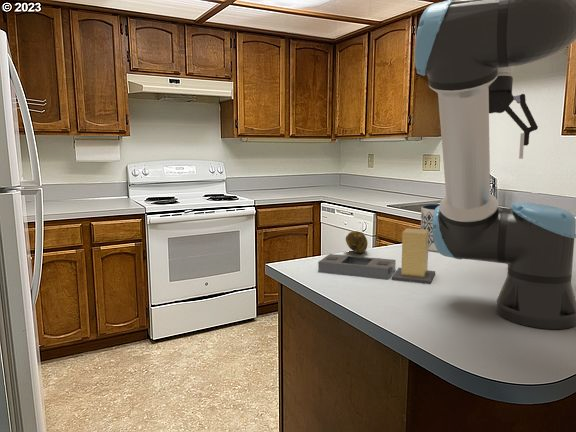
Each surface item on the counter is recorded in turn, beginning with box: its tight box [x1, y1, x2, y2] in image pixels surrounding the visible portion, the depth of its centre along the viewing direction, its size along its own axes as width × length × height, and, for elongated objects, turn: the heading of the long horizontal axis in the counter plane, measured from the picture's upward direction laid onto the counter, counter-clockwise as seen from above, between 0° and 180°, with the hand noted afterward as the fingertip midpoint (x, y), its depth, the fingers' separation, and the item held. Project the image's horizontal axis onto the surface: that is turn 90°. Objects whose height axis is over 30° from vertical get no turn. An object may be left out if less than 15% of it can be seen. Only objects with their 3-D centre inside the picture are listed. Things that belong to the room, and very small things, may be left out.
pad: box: [391, 267, 436, 285], centre depth 123 cm, size 10×10×1 cm
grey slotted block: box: [317, 253, 397, 280], centre depth 129 cm, size 20×10×3 cm, turn 65°
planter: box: [420, 203, 440, 253], centre depth 155 cm, size 16×16×14 cm
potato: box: [345, 230, 369, 254], centre depth 150 cm, size 8×13×8 cm, turn 155°
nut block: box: [401, 227, 429, 278], centre depth 122 cm, size 6×6×12 cm
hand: (492, 158), depth 121 cm, fingers open, 13 cm apart
